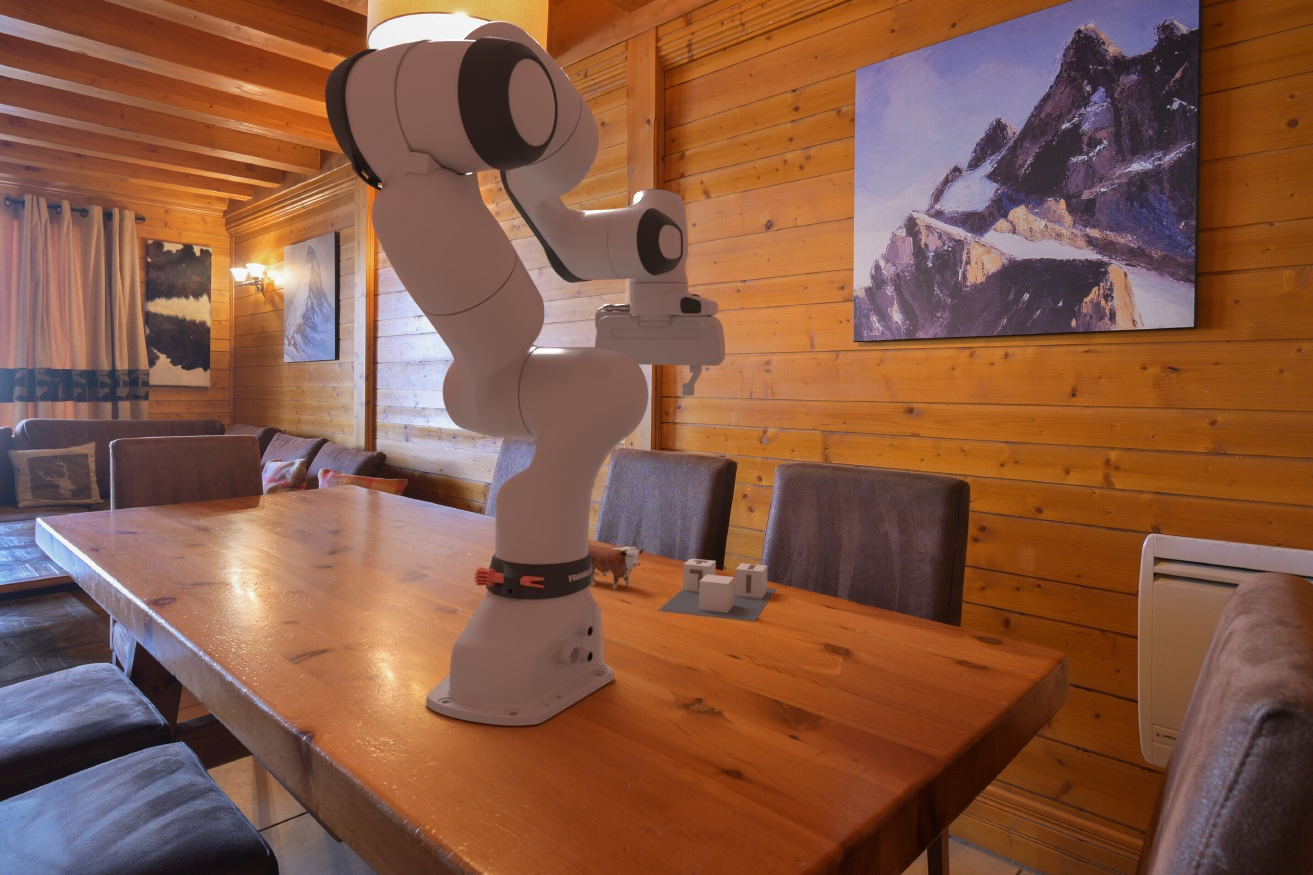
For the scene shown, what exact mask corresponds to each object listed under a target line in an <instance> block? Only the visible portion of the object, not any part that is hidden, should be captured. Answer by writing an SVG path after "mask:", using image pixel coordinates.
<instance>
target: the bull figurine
mask: <svg viewBox="0 0 1313 875" xmlns="http://www.w3.org/2000/svg"><path fill="white" fill-rule="evenodd" d="M588 552H589V553H590V554H591V562H592V582H591V584H590V585H592V586H596V585H597V584H596V578H595V572H596V570H597V571H598V572H600V573H601V574H602V576H603V577H606V576H607V574H612V576H613V585H612V587H611V588H612V589H615V590H616V589H618V582H619V581H620V579H623V580H624V582H625V587H626V588H631V583H630V575H631V573H632V572H633V569H634V568H635V567H639V566H641V561H640V560H639V557H640V556H639V555H641V554H643V553H644V549H643V548H640V549H638V548H637V547H636V546H623V547H614V548H613V547H605V546H600V545H599V546H598V545H595V544H590V543H588Z"/></svg>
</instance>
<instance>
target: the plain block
mask: <svg viewBox="0 0 1313 875" xmlns="http://www.w3.org/2000/svg"><path fill="white" fill-rule="evenodd" d="M734 584H735V576H726V575H716V574H715V575H706V576H704V577H703V578H702V579H701V580H700V581H699V610H706V611H714V612H723V613H728V611H729V610H730V609H731V608H732V607H733V605H734Z"/></svg>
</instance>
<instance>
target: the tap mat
mask: <svg viewBox="0 0 1313 875" xmlns="http://www.w3.org/2000/svg"><path fill="white" fill-rule="evenodd" d="M776 591H777V588H775V587H767V592H766V593H765V595H764V596H763V598H762V599H761V598H751V597H742V596H735V583H734V605H733V607H732V608H731V609H730V610H729V611H728V613H723V612H714V611H706V610H699V592H695V591H685V590H683V588H682V589H681V590H680V591H679V592H677V593H676V594H675V595H674V596H673V597H671V598H670V599H669V600H668V601H667V602H666V603H665V604H664V605H662V606H661V607H660V608H659V609H657V611H659V612H666V613H673V614H674V613H675V614H683V615H692V616H699V617H708V618H715V619H716V618H718V619H724V620H725V619H726V620H735V621H743V622H750V623H755V622H756V621H757V619H758V618H759V616H760V615H761V613H762V611H763V610H764V609H765V607H766V606H767V605H768V602H769V601H770V600H771V598H772V596H773V595H774V594H775V592H776Z"/></svg>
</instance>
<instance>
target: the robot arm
mask: <svg viewBox="0 0 1313 875" xmlns="http://www.w3.org/2000/svg"><path fill="white" fill-rule="evenodd" d="M326 80H327V81H326V84H325V92H324V94H325V95H324V98H325V99H324V100H325V109H326V114H327V118H328V122H329V125H330V128H331V130H332V133H333V135H334V137H335V140H336V142H337V144H338V146H339V147H340V149H341V151H342V153H343V154H344V155H345V157H346V158H347V160H349V162H350V163H351V167H352V169H353V171H354V173H355V174H356V175H357V177H359V178H360V179H361V180H362V181H363V183H365V184H366V185H368V186H370V187H372V188H374V189H375V190H378V192H377V195H376V196H375V197H374V198H375V199H374V200H373V204H372V208H371V222H372V223H371V224H372V227H373V230H374V232H375V235H376V237H377V239H378V241H379V244H380V246H381V247H382V250H383V252H384V254H385V255H386V258H387V260H388V262H389V263H390V265H391V267H392V268H393V270H394V273H395V274H396V276H397V278H398V279H399V280H400V282H401V283H402V285H403V287H404V288H405V290H406V291H407V293H408V294H409V296H410V297H411V298H412V299H413V301H414V303H415V304H416V306H417V307H418V308H419V309H420V311H421V312H422V313H423V314H424V316H425V317H426V319H427V320H428V322H429V323H430V324H431V325H432V327H433V328H434V329H435V331H436V332H437V334H438V335H439V337H440V338H441V339H442V341H443V343H444V344H445V346H446V347H447V348H448V349H449V351H450V353H451V355H452V358H453V361H452V362H451V364H450V365H449V366H448V369H447V371H446V374H445V375H444V380H443V383H442V399H443V404H444V407H445V411H446V412H447V415H448V416H449V418H450V420H451V421H452V422H453V423H454V424H455V425H456V426H457V427H458V428H460V429H462V430H466V431H469V432H472V433H475V434H480V435H482V436H487V437H491V438H496V439H497V438H498V439H500V438H501V439H518V440H519V439H520V440H536V445H535V452H534V455H533V457H532V460H531V462H530V463H529V465H528V467H527V468H526V469H524V470H522V471H519V472H518V473H516V474H514V475H513V476H511V477H510V478H508V479H507V480H506V481H505V482H504V483H503V484H502V485H501V487H500V488H499V490H498V492H497V494H496V496H495V537H494V538H495V543H494V544H495V550H494V554H493V555H492V557H491V560H490V565H489V567H488V568H486V567H478V568H477V569H476V570H475V572H476V573H474V583H476V584H475V585H476V586H485V589H486V592H485V595H484V597H483V598H482V600H481V602H480V603H479V604H478V606H477V607H476V608H475V611H474V612H473V613H472V615H471V617H470V619H469V620H468V622H467V624H466V625H465V626H464V628H463V630H462V631H461V633H460V634H459V635H458V637H457V639H456V640H455V642H454V644H453V646H452V651H451V657H450V663H449V664H450V668H449V674H448V675H447V676H446V677H445V678H444V679H443V680H442V681H441V682H439V684H437V685H436V686H435V687H434V688H433V689H432V690H430V692H428V694H427V695H426V700H425V705H426V706H427V707H428V708H430V709H431V710H432V711H434V712H436V713H439V714H441V715H444V716H447V717H450V718H455V719H459V720H463V721H468V722H473V723H482V724H488V725H498V726H514V727H516V726H531V725H532V726H533V725H538V724H542V723H544V722H546V721H547V720H549V719H551V718H553V717H554V716H555V715H557V714H560V712H563V711H565V709H567V708H568V707H570V706H572V705H574V704H575V703H577V702H579V701H580V700H582V699H584V698H586V697H588V696H589V695H590V694H592V693H594V692H595V691H597V690H598V689H600V688H602V687H604V686H606V685H607V684H609V683H610V682H612V681H614V680H615V671H614V668H613V667H611V666H609V665H608V664H606V663H605V654H604V635H603V634H604V633H603V632H604V631H603V620H602V618H603V617H602V610H601V607H600V605H599V603H598V602H596V600H595V598H594V597H593V594H592V592H591V589H590V585H591V582H592V562H591V554H590V553H589V552H588V544H589V529H590V512H591V503H592V495H593V489H594V485H595V482H596V479H597V476H598V474H599V472H600V471H601V468H602V466H603V464H604V462H605V460H606V459H607V457H608V456H609V455H610V454H611V452H612V451H613V450H614V449H615V448H616V446H618V445H619V444H620V443H621V442H622V441H623V440H625V439H626V438H628V437H629V436H630V435H632V434H633V433H634V431H635V430H636V429H637V428H638V427H639V425H640V424H641V422H642V420H644V419H643V418H644V417H645V414H646V412H647V408H648V402H649V387H648V383H647V382H648V381H647V379H646V376H645V373H644V372H643V370H642V367H641V366H640V365H646V366H648V365H649V366H651V365H653V366H654V365H655V366H689V374H692V375H691V376H690V378H689V381H688V382H684V383H682V384H681V385H682V386H681V388H682V392H681V393H682V396H687V397H688V396H690V397H693V396H694V395H695V384H696V383H697V381H698V379H699V378H700V376H701V375H702V373H703V370H702V369H703V367H704V366H705V367H711V366H713V367H716V366H720V365H722V363H723V362H724V361H725V359H726V344H725V342H726V341H725V335H724V333H725V332H724V327H723V324H722V322H721V321H720V319H719V318H717V317H716V316H715V315H717V314H718V313H719V304H718V302H717V301H716V300H712V299H709V298H707V297H704V296H703V297H702V296H701V295H700V294H696V293H690V291H689V281H688V276H687V272H686V265H687V264H686V263H687V259H688V256H689V234H688V223H687V222H688V220H687V214H686V207H685V204H684V199H683V197H681V196H680V195H679V194H678V193H676V192H674V191H671V190H666V189H662V188H647V189H643V190H640V191H638V192H636V193H635V194H634V196H633V199H632V204H631V205H628V206H626V207H620V208H611V209H610V208H608V209H594V210H580V209H573V208H569V207H568V206H566V205H565V203H564V201H563V199H562V197H561V196H563V195H565V194H568V193H571V191H573V190H574V189H576V188H577V187H578V186H579V185H580V184H581V183H582V182H583V181H584V180H585V179H586V177H587V176H588V174H589V173H590V172H591V169H592V168H593V166H594V163H595V161H596V158H597V155H598V152H599V151H598V150H599V143H600V142H599V141H600V139H599V138H600V135H599V128H598V124H597V121H596V119H595V117H594V114H593V112H592V110H591V108H590V106H589V105H588V103H587V102H586V100H585V99H584V97H583V96H582V95H581V94H580V92H579V90H578V89H577V87H576V86H575V84H574V83H573V81H572V80H571V79H570V77H569V76H568V74H566V71H564V70H563V68H562V67H561V66H560V65H559V64H558V62H557V61H556V60H555V59H554V58H553V57H552V56H551V54H550V53H549V52H548V51H546V49H544V47H543V46H542V45H541V44H540V43H539V42H538V41H537V40H536V39H534V37H532V36H531V35H530V34H529V33H528V32H527V31H526V30H525V29H523V28H521V27H520V26H519V25H518V24H517V25H516V24H514V23H512V22H508V21H504V20H499V21H498V20H495V21H489V22H486V23H483V24H480V25H478V26H477V27H475V28H473V29H472V30H470V31H469V32H468V33H467V34H466V35H465V36H464V37H463V38H462V39H442V40H441V39H439V40H434V39H418V40H412V41H407V42H402V43H398V44H395V45H390V46H387V47H383V48H380V49H379V48H368V49H363V50H361V51H359V52H355V53H354V54H352V55H350V56H348V57H346V58H345V59H343V60H342V61H340V62H339V63H338V64H337V65H336V66H334V68H333V69H332V70H331V71H330V73H329V76H328V77H327V79H326ZM492 170H497V171H499V174H500V175H499V176H500V181H501V184H502V186H503V188H504V191H505V193H506V195H507V197H508V198H509V199H510V201H511V203H512V204H513V206H514V208H515V209H516V210H517V212H518V213H519V215H520V216H521V218H522V219H523V220H524V222H525V224H526V225H527V227H528V228H529V229H530V230H531V232H532V233H533V234H534V236H535V238H536V239H537V241H538V242H539V244H540V246H542V248H543V251H544V253H545V256H546V259H547V260H548V263H549V265H550V267H551V268H552V270H553V271H554V272H555V273H556V275H558V276H559V277H560V278H561V279H562V280H564V281H565V282H567V283H569V284H570V283H571V284H577V283H581V282H582V283H583V282H592V281H601V280H603V281H604V280H606V281H607V280H610V281H611V280H627V279H628V280H629V303H619V304H613V303H606V304H604V305H602V306H601V307H599V308H598V309H597V310H596V313H594V314H595V315H594V324H595V326H594V327H595V329H596V334H595V341H594V346H553V347H552V346H550V347H549V346H548V347H547V346H546V347H545V346H539V345H537V344H536V345H535V344H534V343H535V342H536V340H537V339H538V338H539V336H540V334H541V332H542V330H543V326H544V324H545V323H544V322H545V303H544V298H543V296H542V295H541V293H540V290H538V286H536V284H535V282H534V280H533V279H532V277H531V275H530V273H529V272H528V270H527V268H526V266H525V265H524V262H523V261H522V259H521V257H520V255H519V253H518V252H517V250H516V249H515V247H514V245H513V243H512V242H511V240H510V238H509V237H508V234H506V232H505V231H504V229H503V227H502V226H501V225H500V223H499V221H498V220H497V219H496V217H495V216H494V214H493V213H492V211H491V210H490V209H489V207H487V205H486V204H485V202H484V200H483V197H482V193H481V190H480V183H479V178H478V173H481V172H486V171H492ZM366 176H367V177H366ZM379 184H381V185H379Z"/></svg>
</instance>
